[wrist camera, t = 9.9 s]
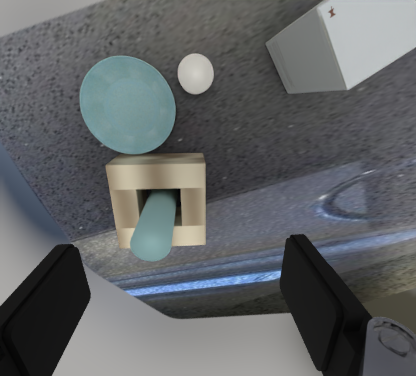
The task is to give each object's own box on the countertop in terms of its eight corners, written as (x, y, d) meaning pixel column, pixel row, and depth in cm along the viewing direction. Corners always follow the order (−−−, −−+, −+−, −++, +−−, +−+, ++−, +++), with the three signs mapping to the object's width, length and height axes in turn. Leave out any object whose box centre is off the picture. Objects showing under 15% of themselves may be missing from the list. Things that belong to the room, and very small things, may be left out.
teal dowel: (177, 178, 34) (170, 226, 21) (178, 202, 36) (172, 260, 23) (150, 179, 34) (127, 228, 21) (153, 203, 36) (132, 262, 23)
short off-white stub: (209, 61, 29) (213, 53, 24) (209, 94, 30) (213, 93, 26) (178, 60, 29) (176, 53, 24) (180, 94, 30) (178, 93, 26)
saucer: (191, 128, 32) (191, 130, 30) (120, 164, 33) (115, 169, 31) (147, 40, 28) (144, 36, 26) (67, 85, 29) (58, 84, 27)
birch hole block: (202, 152, 33) (205, 163, 28) (203, 223, 38) (205, 244, 32) (119, 153, 32) (105, 165, 27) (130, 226, 37) (119, 248, 31)
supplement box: (286, 95, 31) (345, 93, 20) (263, 42, 29) (315, 3, 17) (335, 64, 30) (427, 43, 19) (316, 6, 28) (409, -61, 16)
